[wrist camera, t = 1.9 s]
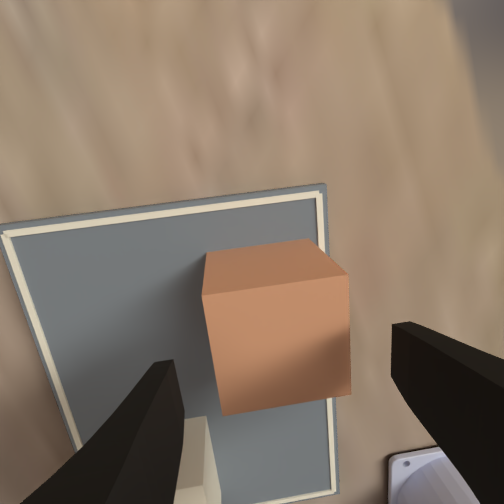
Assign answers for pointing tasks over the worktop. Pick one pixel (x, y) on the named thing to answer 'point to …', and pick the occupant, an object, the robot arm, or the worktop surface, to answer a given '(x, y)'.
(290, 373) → the terracotta block
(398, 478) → the robot arm
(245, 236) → the board
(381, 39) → the worktop surface
